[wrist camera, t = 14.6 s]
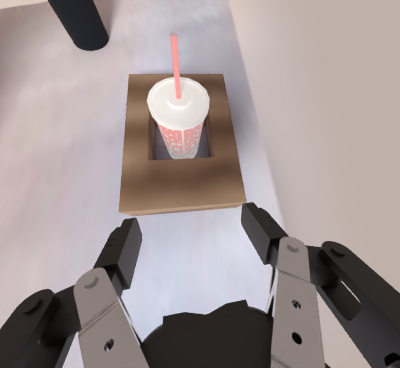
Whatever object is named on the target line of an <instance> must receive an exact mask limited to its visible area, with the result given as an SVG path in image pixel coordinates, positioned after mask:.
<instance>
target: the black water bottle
mask: <svg viewBox="0 0 400 368" xmlns="http://www.w3.org/2000/svg"><path fill="white" fill-rule="evenodd" d="M48 2H49V3H50V5H51V6H52V8H53V10H54V11H55V13H56V15H57V16H58V18H59V19H60V21H61V23H62V24H63V26H64V28H65V29H66V31H67V32H68V34H69V36H70V37H71V39H72V40H73V42H74V44H75V45H76V46H77V47H78V48H80V49H82V50H87V51H93V50H98V49H100V48H102V47H104V46H105V45H106V44H107V43H108V39H109V38H108V35H107V32H106V30H105V27H104V25H103V23H102V20H101V18H100V16H99V13H98V11H97V8H96V6H95V4H94V1H93V0H48Z"/></svg>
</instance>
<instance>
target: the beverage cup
mask: <svg viewBox="0 0 400 368" xmlns="http://www.w3.org/2000/svg"><path fill="white" fill-rule="evenodd" d="M170 40H171V50H172V60H173V70H174V77H172V78H166V79H164V80H162V81H160V82H158V83H156V84H155V85H154V86H153V87H152V89H151V90H150V91H149V94H148V98H147V103H148V107H149V110H150V113H151V115H152V117H153V118H154V119H155V120H156V122H157V124H158V127H159V129H160V132H161V134H162V137H163V139H164V142H165V144H166V147H167V149H168V152H169V154H170V156H171V157H172V158H173V159H186V158H194V157H195V155H196V153H197V151H198V146H199V141H200V136H201V132H202V127H203V122H204V119H205V117H206V116H207V114H208V110H209V101H210V98H209V96H208V93H207V91H206V89H205V88H204V87H203V86H201V85H200V84H199V83H198V82H196V81H194V80H191V79H189V78H184V77H180V71H179V55H178V39H177V34H176V33H171V34H170Z"/></svg>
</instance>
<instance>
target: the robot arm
mask: <svg viewBox="0 0 400 368" xmlns="http://www.w3.org/2000/svg"><path fill="white" fill-rule="evenodd" d="M241 223H242V226H243V228H244V230H245V232H246V233H247V235H248V237H249V239H250V241H251V242H252V244H253V246H254V248H255V249H256V251H257V253H258V255H259V256H260V258H261V260H262V262H263V264H264V265H266V264H271V266H272V267H273V268H272V273H271V280H270V288H269V296H268V302H267V307H266V312H264V311H262V310H260V309H257V308H254V307H250V306H248V304H247V301H246V300H241V301H236V302H232V303H227V304H225V305H223V306H221V307H220V308H218V309H216V310H214V311H213V312H211V313H209V314H206V315H204V314H196V313H187V312H183V313H178V314H173V315H168V316H163V324H162V325H160V326H159V327H157V328H156V329H155V330H153V331H152V332H151V333H150V334H149V335H148V336H147V337H146V339H145V340H144V341H142V339H141V337H140V335H139V333H138V331H137V329H136V327H135V325H134V323H133V321H132V319H131V317H130V315H129V313H128V311H127V309H126V307H125V305H124V302H123V300H122V298H121V295H122V292H123V290H126V289H130V286H131V282H132V278H133V274H134V270H135V266H136V262H137V258H138V254H139V250H140V246H141V243H142V233H141V230H140V227H139V224H138V221H137V219H136V218H130V219H124V220H123V222H122V225H121V227H117V228H116V229H115V230H114V231H113V232H112V233H111V234H110V236H109V238H108V241H107V242H106V244H105V247H104V248H103V250H102V252H101V254H100V256H99V257H98V259H97V261H96V263H95V265H94V267H93V269H92V270H90V271H88V272H86V273H85V274H84V275H82V276H81V277H80V278H79V280H78V281H77V282H76V284H75V285H73V286H71V287H69V288H67V289H64V290H62V291H60V292H58V293H54V292H53V291H52V290H50V289H44V290H41V291H38V292H36V293H34V294H32V295H31V296H29V297H28V298H27V299H25V300H24V301H23V302H22V303H21V304H20V305H19V306H18V307H17V308H16V309H15V310H14V312H13V313H12V314H11V316H10V317H9V318H8V320H7V321H6V322H5V324H4V325H3V326H2V328H1V329H0V368H62V367H63V364H64V362H65V359H66V357H67V354H68V352H69V349H70V346H71V344H72V341H73V339H74V336H75V334H76V332H78V331H79V332H78V339H79V344H80V349H81V354H82V359H83V364H84V368H330V367H329V366H328V365H327V364H326V363H325V361H324V353H323V344H322V335H321V328H320V320H319V310H318V302H317V293H316V290H317V292H318V293H319V294H320V296H321V297H322V299H323V300H324V301H325V303H326V304H327V306H328V307H329V308H330V310H331V311H332V313H333V314H334V315H335V317H336V318H337V320H338V321H339V323H340V324H341V325H342V327H343V328H344V330H345V331H346V332H347V334H348V335H349V337H350V338H351V339H352V341H353V342H354V344H355V345H356V346H357V348H358V349H359V351H360V352H361V353H362V355H363V356H364V358H365V359H366V360H367V362H368V363H369V365H370V366H371V367H372V368H400V293H399V292H398V291H396V290H395V289H394V288H393V287H392V286H391V285H390V284H388V283H387V282H386V281H385V280H384V279H383V278H382V277H380V276H379V275H378V274H377V273H376V272H374V270H372V269H371V268H370V267H369V266H368V265H367V264H365V263H364V262H363V261H362V260H361V259H360V258H359V257H357V256H356V255H355V254H354V253H353V252H352V251H351V250H349V249H348V248H347V247H345V246H343V245H341V244H339V243H336V242H332V241H326V242H324V243H323V244H322V246H321V247H314V246H306V245H304V243H302V242H301V241H300V240H298V239H296V238H293V237H289V236H288V235H287V234H286V233H285V231H284V230H283V229H282V228H281V227H280V226H279V225H278V223H277V222H276V221H275V220H274V219H273V218H272V217H271V216H270V214H269V213H268V212H267V211H265V210H264V209H262V208H258V207H257V206H256V205H255V204H254V203H253V202H250V203H243V205H242V214H241ZM341 281H343V282H344V283H345V284H346V286H347V287H348V288H349V289H350V290H351V291H352V292H353V293H354V295H355V296H356V297H357V298H358V299H359V301H360V302H358V300H357V299H356V298H355V297H354V296H353V295H352V293H351V292H350V291H349V290H348V289H347V288H346V287H345V286H344V284H343V283H342V282H341ZM360 303H361V304H360Z"/></svg>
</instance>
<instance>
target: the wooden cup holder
mask: <svg viewBox="0 0 400 368" xmlns="http://www.w3.org/2000/svg"><path fill="white" fill-rule="evenodd" d="M172 77H174V74H129V81H128V95H127V108H126V122H125V136H124V149H123V163H122V176H121V190H120V204H119V212H120V213H124V214H128V215H131V216H138V215H150V214H162V213H175V212H187V211H199V210H211V209H223V208H236V207H238V206H240V205H242V204H243V203H246V196H245V191H244V185H243V180H242V175H241V169H240V164H239V158H238V153H237V148H236V142H235V137H234V131H233V126H232V121H231V115H230V110H229V104H228V99H227V94H226V88H225V83H224V77H223V74H180V77H184V78H189V79H191V80H194V81H196V82H198V83H199V84H200V85H201V86H203V87H204V88H205V89H206V91H207V93H208V96H209V98H210V101H209V110H208V114H207V116H206V117H205V119H204V122H203V124H206V132H207V140H208V148H209V157H206V158H186V159H167V160H155V126H158V124H157V122H156V120H155V119H154V118H153V117H152V115H151V113H150V110H149V107H148V103H147V98H148V94H149V91H150V90H151V89H152V87H153V86H154V85H155V84H156V83H158V82H160V81H162V80H164V79H166V78H172Z"/></svg>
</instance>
